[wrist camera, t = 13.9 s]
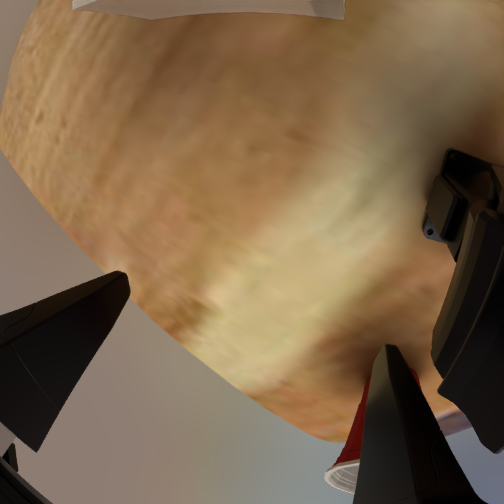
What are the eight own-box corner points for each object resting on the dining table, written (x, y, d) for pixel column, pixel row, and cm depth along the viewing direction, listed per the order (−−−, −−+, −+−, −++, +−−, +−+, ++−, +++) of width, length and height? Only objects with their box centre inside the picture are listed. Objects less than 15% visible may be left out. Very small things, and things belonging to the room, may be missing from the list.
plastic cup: (357, 340, 26) (342, 462, 16) (456, 355, 23) (469, 465, 13) (330, 399, 31) (310, 493, 22) (412, 411, 29) (408, 500, 19)
